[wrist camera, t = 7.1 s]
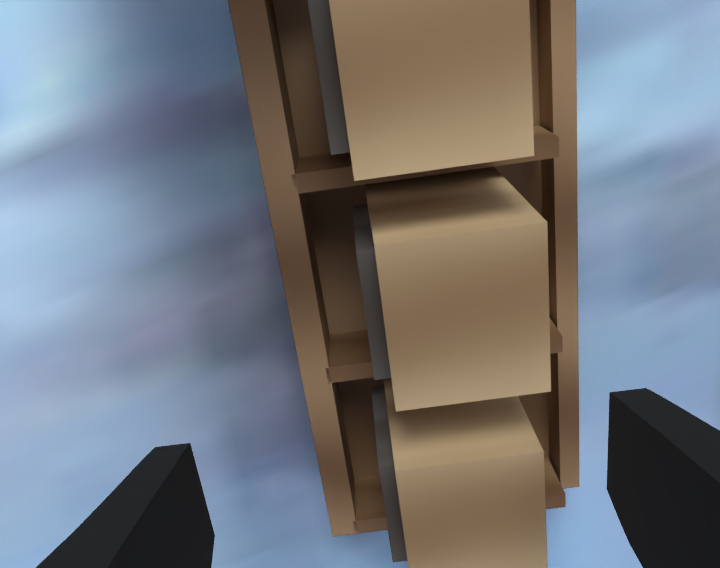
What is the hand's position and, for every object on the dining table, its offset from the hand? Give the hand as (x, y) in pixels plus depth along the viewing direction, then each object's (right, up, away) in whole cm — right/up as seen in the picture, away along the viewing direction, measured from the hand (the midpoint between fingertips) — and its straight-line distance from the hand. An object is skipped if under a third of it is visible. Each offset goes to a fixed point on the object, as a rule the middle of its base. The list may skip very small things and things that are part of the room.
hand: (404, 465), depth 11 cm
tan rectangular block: (+1, +4, +8) cm, 9 cm away
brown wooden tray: (+1, +5, +9) cm, 10 cm away
